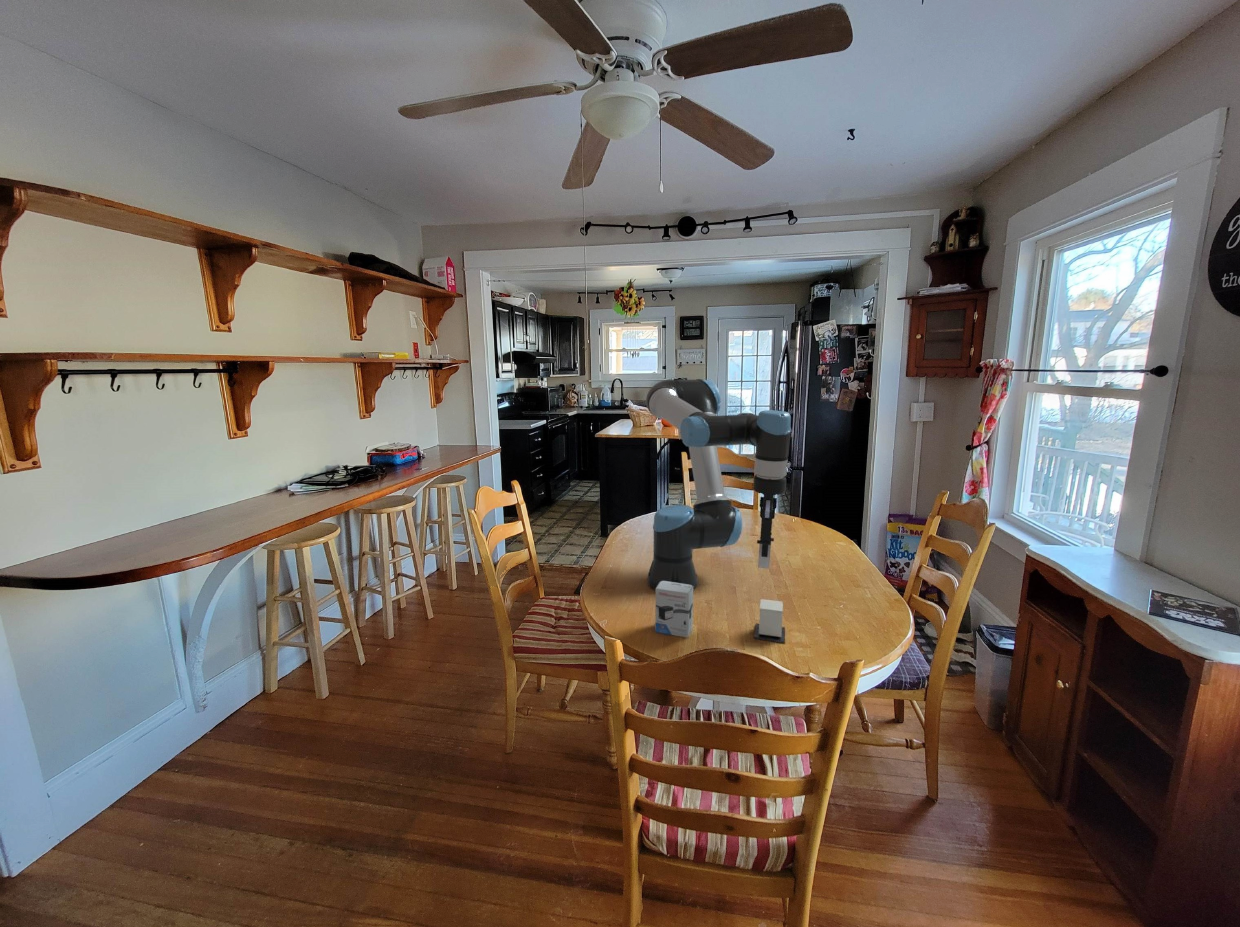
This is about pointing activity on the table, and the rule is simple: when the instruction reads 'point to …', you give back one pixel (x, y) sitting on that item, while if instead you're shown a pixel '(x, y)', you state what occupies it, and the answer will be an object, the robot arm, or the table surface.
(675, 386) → the robot arm
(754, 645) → the table surface
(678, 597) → the ink box
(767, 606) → the white upright block
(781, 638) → the post
